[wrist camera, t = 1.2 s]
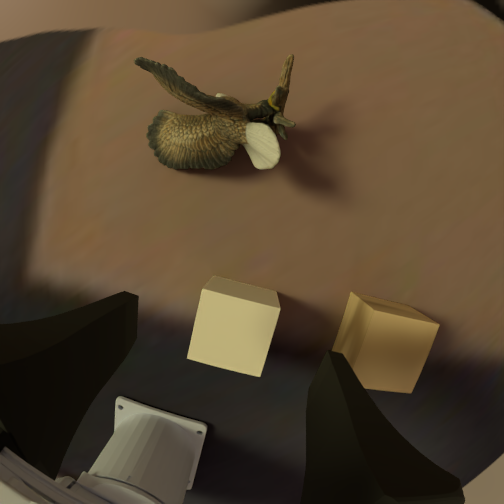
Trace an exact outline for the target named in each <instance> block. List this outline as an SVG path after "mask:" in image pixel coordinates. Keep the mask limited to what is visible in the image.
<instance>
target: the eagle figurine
mask: <svg viewBox="0 0 504 504" xmlns="http://www.w3.org/2000/svg"><path fill="white" fill-rule="evenodd" d="M293 60H294V55H293V54H291V55H289V56H288V57H287V59H286V61H285V62H284V64H283V68H282V74H281V76H280V79H279V81H280V82H279V86H277V87H276V90H275V91H274V92H273V93H272V94H271V96H270V98H269V99H268V100H262V101H260V102H259V103H257V104H243V103H240V102H239V101H238V100H236V99H235V98H233V97H230V96H227V95H225V94H220V93H218V94H217V95H216V97H214V96H210V95H206V94H204V93H203V92H200V91H199V90H198V89H197V87H196V86H194V85H191V84H190V83H188V82H186V81H185V79H184V78H183V77H181V76H178V75H177V73H176V71H175V70H174V69H173V68H171V67H168V66H167V65H165V64H162V65H161V64H160V63H158V62H157V63H156V62H155V61H152V60H148V59H145V58H142V57H139V58H136V59H135V60H134V61H135V62H134V63H135V64H136V65H138V66H140V67H141V68H142V69H144V70H147V71H149V72H151V73H152V74H153V75H154V77H155V79H156V80H157V81H158V82H159V83H160V84H161V86H162V87H163V88H164V89H165V90H166V91H167V92H168V93H169V94H171V95H172V96H174V97H175V98H177V99H179V100H180V101H182V102H184V103H186V104H187V105H190V106H192V107H195V108H197V109H199V110H201V111H204V112H207V113H208V114H203V115H196V116H193V115H178V114H176V113H174V112H169V111H167V110H160V111H159V113H158V116H156V117H154V118H153V123H152V124H150V125H149V126H148V131H149V132H148V133H147V134H146V137H147V138H148V139H149V141H150V142H149V143H148V145H149V147H150V148H151V149H154V150H155V152H154V156H157V157H158V160H159V162H160V163H162V164H163V165H167V167H168V168H174V169H175V170H177V169H179V168H180V169H188V168H190V167H191V168H192V169H194V168H197V169H200V168H202V167H203V168H205V169H211V170H213V169H215V168H219V167H221V166H225V165H227V164H228V162H230V161H231V156H233V155H234V154H235V151H234V150H236V149H238V148H239V146H240V144H242V145H243V146H244V147H245V149H246V151H247V153H248V154H249V156H250V158H251V160H252V163H253V164H254V166H255V167H256V168H257V169H261V170H262V169H272V168H274V167H275V165H276V164H278V162H279V158H280V155H281V150H280V147H279V143H278V140H277V136H276V135H277V134H279V133H280V136H281V137H282V138H283V139H284V140H287V138H288V135H287V133H286V132H285V127H284V125H285V126H287V127H294V126H295V125H296V124H295V123H294V122H293V121H290V120H287V119H286V118H284V116H283V112H284V108H285V103H286V100H287V97H288V93H289V85H290V76H291V70H292V66H293ZM264 117H265V118H264ZM255 118H264V119H262V120H259V119H258V120H253V119H255ZM275 134H276V135H275Z"/></svg>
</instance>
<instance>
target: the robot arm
mask: <svg viewBox="0 0 504 504" xmlns="http://www.w3.org/2000/svg"><path fill="white" fill-rule="evenodd" d="M138 298H139V296H137V295H134V294H132V293H129V292H126V291H124V292H120V293H117V294H115V295H112V296H109V297H107V298H104V299H102V300H99V301H96V302H94V303H91V304H89V305H86V306H83V307H80V308H77V309H74V310H71V311H68V312H65V313H62V314H59V315H56V316H52V317H48V318H43V319H39V320H34V321H28V322H20V323H13V324H0V504H183V500H184V496H185V492H186V490H190V489H191V488H192V485H193V481H194V477H195V473H196V469H197V466H198V462H199V458H200V454H201V450H202V446H203V443H204V439H205V435H206V431H207V425H206V424H205V423H203V422H200V421H196V420H192V419H189V418H185V417H182V416H178V415H175V414H172V413H169V412H165V411H162V410H159V409H156V408H153V407H150V406H147V405H144V404H141V403H139V402H136V401H133V400H130V399H128V398H125V397H122V396H119V397H118V398H117V399H116V407H115V429H114V434H113V436H112V437H111V439H110V440H109V442H108V443H107V445H106V446H105V448H104V449H103V451H102V452H101V454H100V455H99V457H98V458H97V460H96V461H95V463H94V464H93V466H92V468H91V469H90V471H89V472H88V473H86V472H83V473H82V474H81V476H80V477H79V479H78V480H77V482H76V481H75V480H74V479H73V478H71V477H69V476H66V477H64V478H57V479H56V476H57V474H58V471H59V468H60V466H61V463H62V461H63V458H64V456H65V454H66V451H67V449H68V447H69V445H70V442H71V440H72V438H73V436H74V434H75V432H76V430H77V428H78V426H79V424H80V422H81V421H82V419H83V417H84V415H85V413H86V412H87V410H88V408H89V406H90V405H91V403H92V401H93V400H94V399H95V397H96V396H97V394H98V393H99V392H100V390H101V389H102V388H103V386H104V385H105V384H106V383H107V381H108V380H109V379H110V377H111V376H112V375H113V374H114V372H115V371H116V370H117V368H118V367H119V366H120V364H121V363H122V362H123V361H124V359H125V358H126V356H127V355H128V353H129V351H130V349H131V348H132V346H133V344H134V342H135V340H136V339H137V318H138ZM120 405H121V406H123V408H122V407H121V406H120ZM198 431H202V433H200V432H198ZM464 502H465V498H464V495H463V490H462V486H461V483H460V479H459V478H457V477H455V476H454V475H452V474H450V473H449V472H447V471H445V470H444V469H442V468H440V467H439V466H437V465H436V464H435V463H433V462H432V461H431V460H429V459H428V458H427V457H425V456H424V455H423V454H421V453H420V452H419V451H418V450H417V449H415V448H414V447H413V446H412V445H411V444H410V443H409V442H408V441H407V440H406V439H405V438H404V437H403V436H402V435H401V434H400V433H399V432H398V431H397V430H396V429H395V428H394V427H393V426H392V425H391V423H390V422H389V421H388V420H387V419H386V418H385V416H384V415H383V414H382V413H381V411H380V410H379V409H378V407H377V406H376V405H375V403H374V402H373V400H372V399H371V398H370V396H369V395H368V393H367V392H366V390H365V389H364V387H363V385H362V384H361V382H360V381H359V379H358V377H357V376H356V374H355V372H354V371H353V369H352V367H351V366H350V364H349V362H348V361H347V359H346V358H345V356H344V354H343V353H339V352H334V351H330V350H327V352H326V354H325V356H324V358H323V360H322V362H321V364H320V367H319V369H318V371H317V373H316V375H315V377H314V379H313V381H312V383H311V385H310V387H309V391H308V399H307V408H306V471H305V478H304V485H303V492H302V497H301V503H300V504H464Z"/></svg>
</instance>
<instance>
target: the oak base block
mask: <svg viewBox="0 0 504 504" xmlns="http://www.w3.org/2000/svg"><path fill="white" fill-rule="evenodd" d="M439 325H440V324H438V323H436V322H435V321H433V320H431V319H430V318H428V317H427V316H425V315H423V314H422V313H420V312H418V311H417V310H415V309H413V308H412V307H410V306H408V305H404V304H400V303H396V302H392V301H388V300H384V299H380V298H375V297H371V296H367V295H363V294H359V293H355V292H351V294H350V297H349V300H348V303H347V306H346V310H345V313H344V316H343V319H342V322H341V325H340V328H339V331H338V334H337V337H336V339H335V342H334V345H333V348H332V351H334V352H339V353H343V354H344V356H345V358H346V359H347V361H348V362H349V364H350V366H351V367H352V369H353V371H354V372H355V374H356V376H357V377H358V379H359V381H360V382H361V384H362V385H363V387H364V388H367V389H375V390H383V391H392V392H402V393H412V391H413V388H414V386H415V384H416V382H417V380H418V378H419V375H420V373H421V371H422V368H423V366H424V364H425V361H426V359H427V357H428V354H429V352H430V349H431V347H432V344H433V341H434V339H435V336H436V333H437V331H438V328H439Z"/></svg>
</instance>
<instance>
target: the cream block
mask: <svg viewBox="0 0 504 504" xmlns="http://www.w3.org/2000/svg"><path fill="white" fill-rule="evenodd" d="M280 309H281V308H280V304H279V300H278V296H277V292H276V291H273V290H269V289H266V288H262V287H258V286H254V285H250V284H246V283H242V282H238V281H234V280H231V279H227V278H223V277H219V276H215V275H213V276H212V277H211V279H210V280H209V281H208V282H207V284H206V285H205V286H204V287H203V288H202V293H201V297H200V301H199V306H198V310H197V315H196V319H195V324H194V328H193V333H192V338H191V342H190V347H189V352H188V357H187V359H191V360H194V361H198V362H201V363H205V364H209V365H212V366H216V367H220V368H224V369H228V370H232V371H236V372H240V373H244V374H249V375H253V376H257V377H260V375H261V372H262V369H263V366H264V362H265V359H266V356H267V353H268V350H269V346H270V343H271V340H272V336H273V333H274V330H275V326H276V323H277V320H278V316H279V313H280Z"/></svg>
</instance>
